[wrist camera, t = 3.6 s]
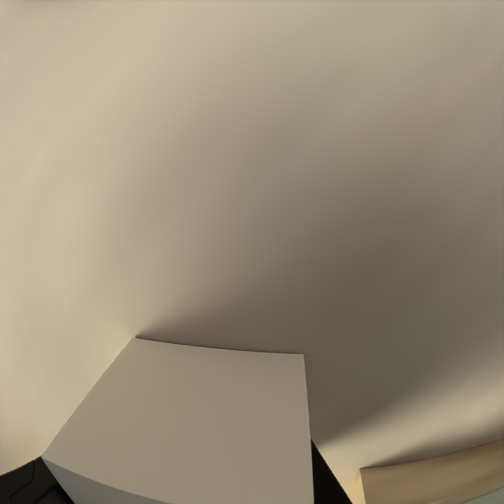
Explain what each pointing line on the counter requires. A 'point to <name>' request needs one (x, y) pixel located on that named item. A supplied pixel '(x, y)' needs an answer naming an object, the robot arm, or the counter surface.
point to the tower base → (433, 478)
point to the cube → (189, 430)
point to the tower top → (489, 498)
